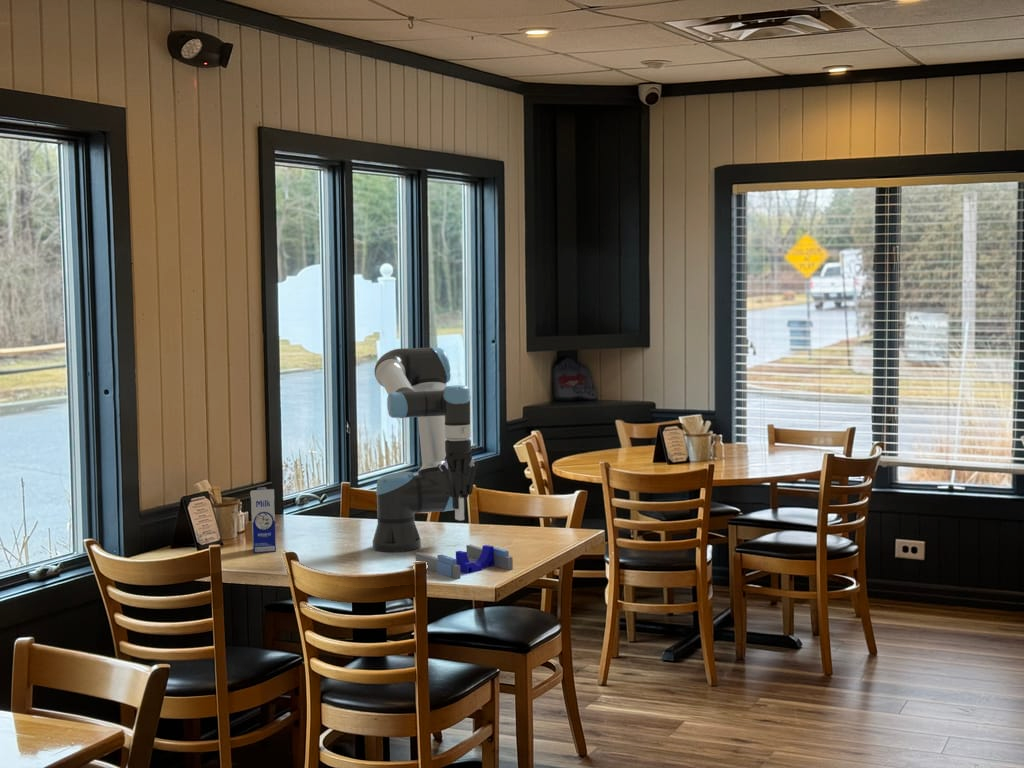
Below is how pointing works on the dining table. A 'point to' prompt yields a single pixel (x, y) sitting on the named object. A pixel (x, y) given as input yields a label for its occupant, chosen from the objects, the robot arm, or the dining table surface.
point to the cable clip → (483, 561)
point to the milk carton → (263, 520)
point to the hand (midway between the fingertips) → (459, 519)
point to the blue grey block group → (449, 565)
